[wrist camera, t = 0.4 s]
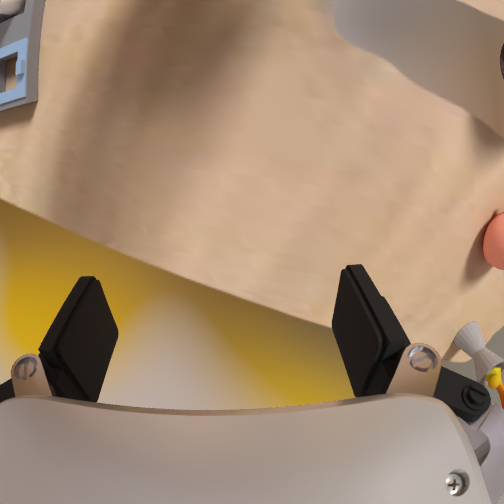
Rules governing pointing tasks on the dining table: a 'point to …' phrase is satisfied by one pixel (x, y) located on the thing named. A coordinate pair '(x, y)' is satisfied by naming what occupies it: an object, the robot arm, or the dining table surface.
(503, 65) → the wooden sphere
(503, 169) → the dining table surface
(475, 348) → the lava lamp
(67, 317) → the robot arm
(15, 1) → the plug
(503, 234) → the pink rounded piece
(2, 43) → the grey slotted holder
